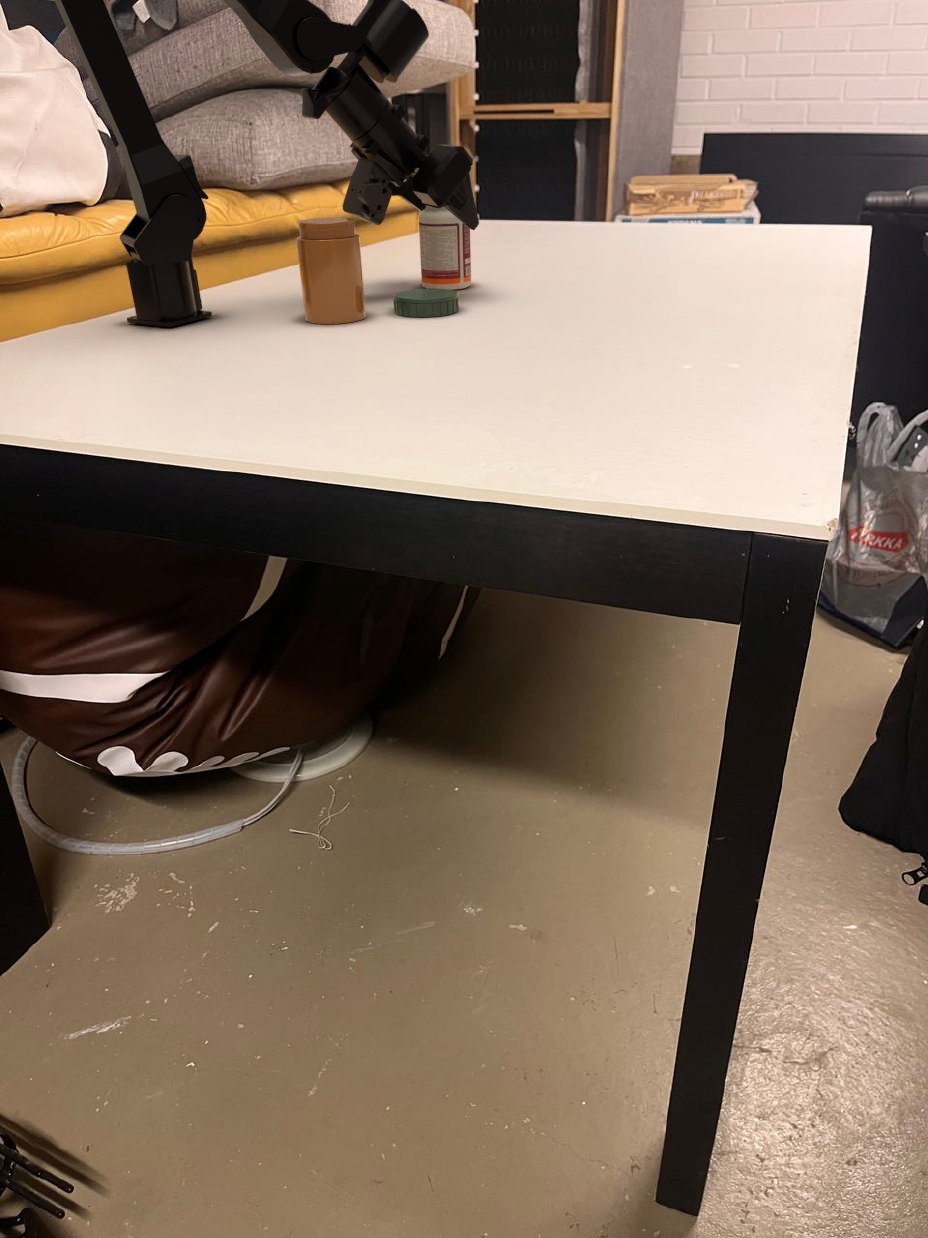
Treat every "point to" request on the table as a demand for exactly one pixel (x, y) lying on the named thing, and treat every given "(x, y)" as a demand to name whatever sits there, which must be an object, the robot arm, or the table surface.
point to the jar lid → (426, 302)
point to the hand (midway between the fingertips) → (456, 221)
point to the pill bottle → (444, 250)
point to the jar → (331, 271)
